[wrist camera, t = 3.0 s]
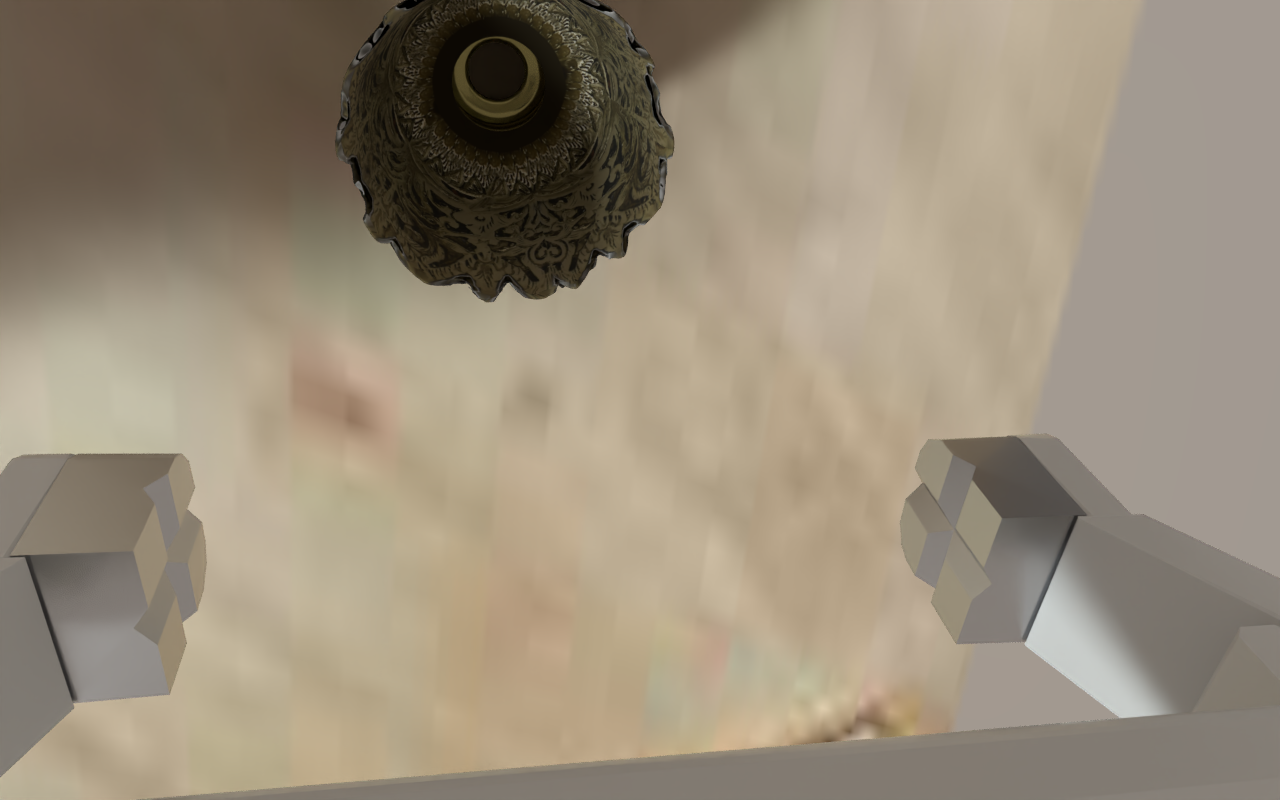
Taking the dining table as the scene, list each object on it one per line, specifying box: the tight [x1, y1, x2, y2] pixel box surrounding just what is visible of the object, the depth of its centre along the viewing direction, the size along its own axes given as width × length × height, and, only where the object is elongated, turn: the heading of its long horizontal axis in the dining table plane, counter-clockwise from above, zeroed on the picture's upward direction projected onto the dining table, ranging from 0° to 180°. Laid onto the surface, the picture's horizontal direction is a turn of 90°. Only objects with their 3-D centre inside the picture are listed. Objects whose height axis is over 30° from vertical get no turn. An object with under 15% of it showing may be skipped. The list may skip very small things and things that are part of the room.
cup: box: [335, 0, 674, 302], centre depth 24 cm, size 8×7×8 cm
